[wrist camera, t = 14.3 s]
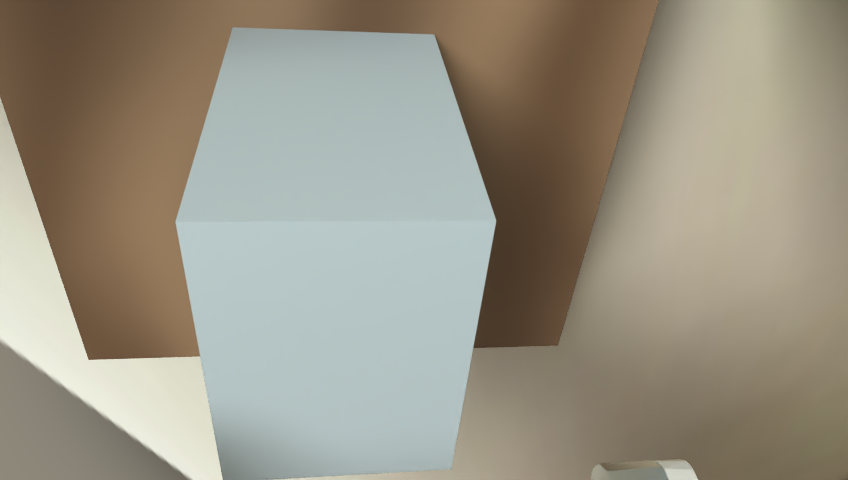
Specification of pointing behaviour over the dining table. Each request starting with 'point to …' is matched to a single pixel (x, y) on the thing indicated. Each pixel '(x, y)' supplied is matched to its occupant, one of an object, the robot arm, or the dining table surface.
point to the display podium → (189, 103)
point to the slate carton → (334, 254)
